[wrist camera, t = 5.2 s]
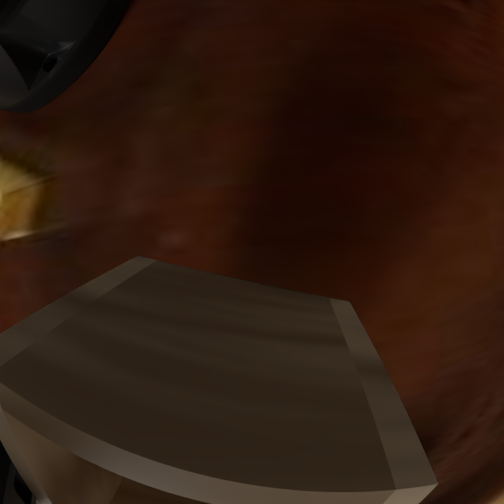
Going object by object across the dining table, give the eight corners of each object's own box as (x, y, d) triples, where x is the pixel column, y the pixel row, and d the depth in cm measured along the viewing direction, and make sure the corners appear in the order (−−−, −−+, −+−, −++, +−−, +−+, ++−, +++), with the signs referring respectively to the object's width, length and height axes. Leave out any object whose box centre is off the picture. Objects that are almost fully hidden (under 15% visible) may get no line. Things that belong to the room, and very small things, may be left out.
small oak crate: (137, 255, 11) (-34, 355, 3) (349, 301, 11) (437, 483, 3) (135, 433, 13) (73, 544, 5) (282, 468, 13) (275, 598, 5)
